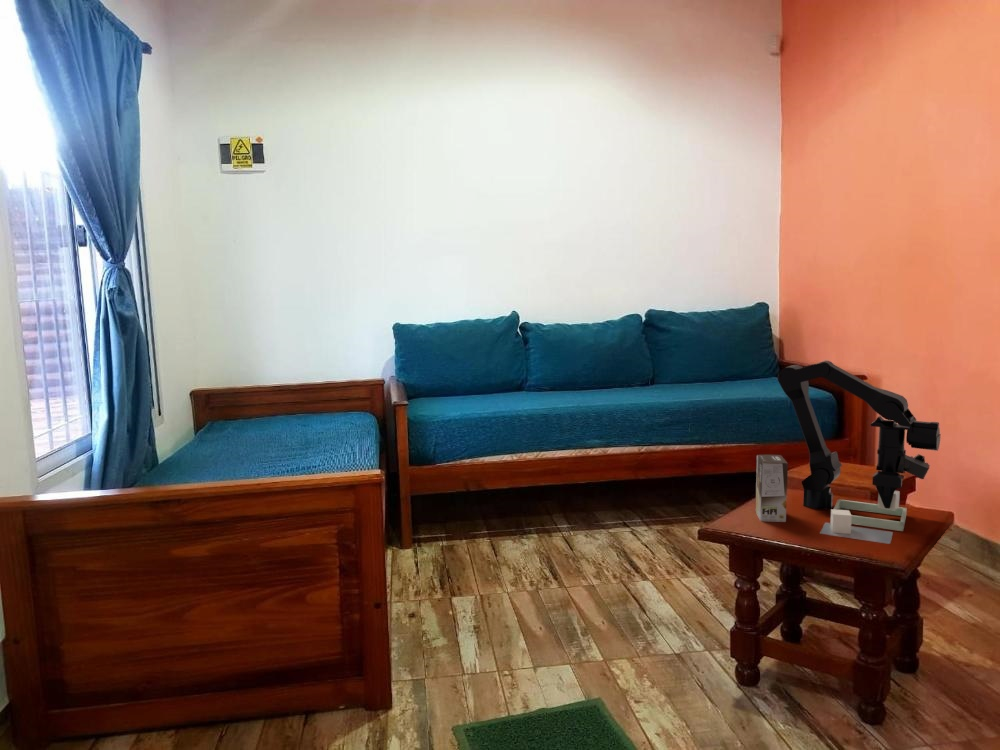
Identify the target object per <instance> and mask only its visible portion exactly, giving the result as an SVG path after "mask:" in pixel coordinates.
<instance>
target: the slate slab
mask: <svg viewBox="0 0 1000 750" xmlns="http://www.w3.org/2000/svg"><path fill="white" fill-rule="evenodd" d="M819 534H820V535H827V536H832V537H833V536H834V537H841V538H846V539H847V538H848V539H852V540H853V539H854V540H859V541H866V542H874V543H881V544H886V545H890V544H892V543H891V542H892V538H893V534H894V532H893V531H888V530H887V531H886V530H881V529H875V528H867V527H862V526H853V525H851V534H847V533H833V532H832V530H831V528H830V522H826V521H825V522H824V524H823V526H822V528H821V529H820V532H819Z"/></svg>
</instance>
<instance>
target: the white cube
mask: <svg viewBox="0 0 1000 750" xmlns="http://www.w3.org/2000/svg"><path fill="white" fill-rule="evenodd" d="M852 515H853V514H851V511H850V509H840V510H835V509H834V508H833V509H832V508H831V509H830V522H829V523H830V528H831V530H832V532H833V533H847V534H851V526H852V524H851V519H852Z"/></svg>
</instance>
